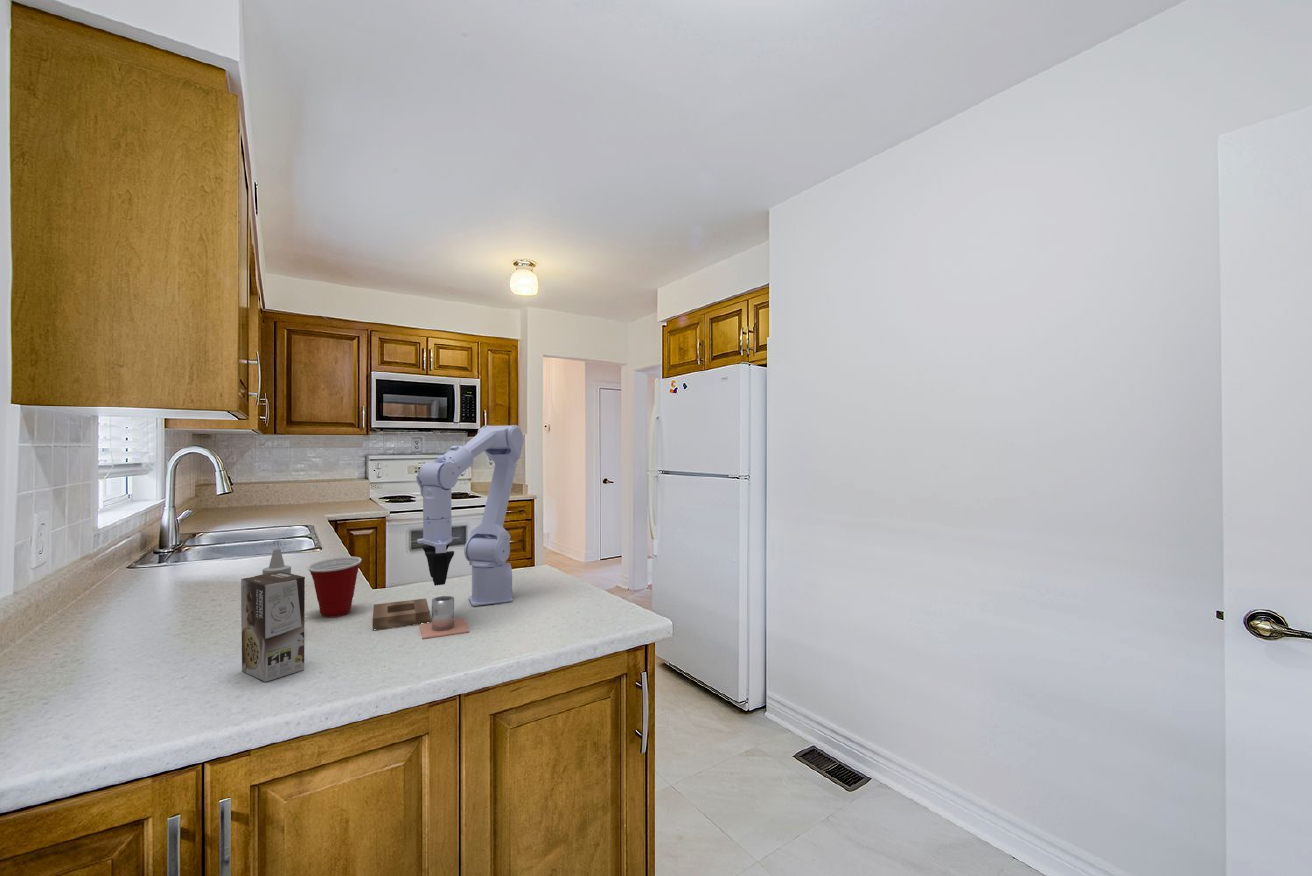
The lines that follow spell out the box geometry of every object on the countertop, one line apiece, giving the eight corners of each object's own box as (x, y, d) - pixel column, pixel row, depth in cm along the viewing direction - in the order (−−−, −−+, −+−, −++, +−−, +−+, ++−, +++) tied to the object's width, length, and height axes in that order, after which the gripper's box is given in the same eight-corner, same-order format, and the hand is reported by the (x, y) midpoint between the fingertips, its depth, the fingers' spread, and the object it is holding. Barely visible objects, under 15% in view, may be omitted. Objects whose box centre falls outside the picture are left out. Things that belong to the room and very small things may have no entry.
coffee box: (306, 669, 96) (306, 576, 96) (264, 683, 90) (264, 584, 90) (281, 658, 100) (281, 569, 100) (239, 671, 95) (239, 577, 95)
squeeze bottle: (276, 649, 105) (276, 554, 105) (240, 646, 106) (241, 552, 107) (310, 634, 113) (310, 546, 113) (277, 631, 114) (277, 545, 114)
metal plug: (454, 623, 119) (454, 594, 119) (453, 629, 114) (454, 600, 114) (432, 625, 117) (432, 596, 117) (431, 632, 113) (431, 602, 113)
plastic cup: (295, 619, 123) (295, 565, 123) (336, 605, 133) (336, 555, 133) (333, 623, 119) (333, 568, 119) (372, 609, 130) (372, 558, 130)
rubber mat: (464, 619, 122) (464, 618, 122) (469, 632, 114) (469, 630, 114) (419, 625, 118) (419, 624, 118) (422, 639, 110) (422, 637, 110)
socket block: (426, 609, 130) (426, 598, 130) (429, 622, 120) (429, 611, 120) (373, 615, 125) (373, 604, 125) (372, 630, 115) (372, 618, 115)
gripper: (415, 514, 124) (415, 575, 124) (419, 523, 111) (420, 591, 111) (448, 512, 127) (448, 571, 127) (456, 521, 114) (457, 586, 114)
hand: (437, 580), depth 119 cm, fingers open, 7 cm apart
